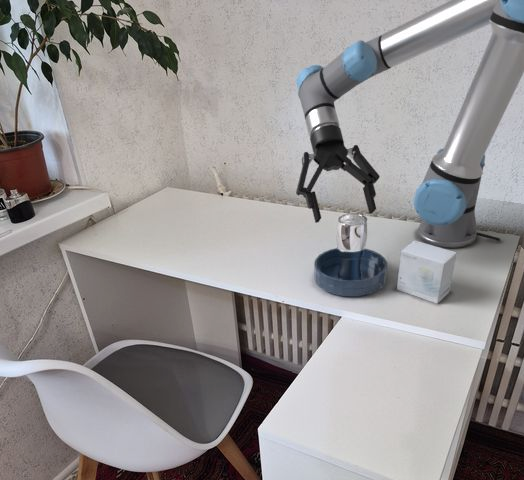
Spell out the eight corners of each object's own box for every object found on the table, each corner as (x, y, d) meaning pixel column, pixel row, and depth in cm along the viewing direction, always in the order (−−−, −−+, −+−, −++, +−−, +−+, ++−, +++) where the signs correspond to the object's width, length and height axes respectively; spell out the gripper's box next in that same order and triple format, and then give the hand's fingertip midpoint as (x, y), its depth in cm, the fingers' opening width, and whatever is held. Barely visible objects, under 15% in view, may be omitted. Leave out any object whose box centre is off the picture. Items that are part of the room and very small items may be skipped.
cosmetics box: (395, 290, 119) (400, 249, 113) (409, 279, 123) (414, 239, 117) (437, 304, 114) (444, 262, 107) (450, 292, 117) (458, 251, 111)
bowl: (385, 264, 130) (387, 248, 127) (385, 300, 116) (387, 283, 114) (318, 261, 133) (318, 245, 130) (310, 296, 119) (310, 279, 117)
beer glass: (363, 285, 121) (367, 226, 112) (333, 283, 122) (335, 225, 113) (364, 270, 126) (368, 213, 117) (336, 269, 128) (338, 212, 118)
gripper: (367, 134, 127) (389, 214, 125) (272, 147, 123) (291, 230, 121) (378, 116, 120) (401, 200, 117) (277, 130, 116) (298, 217, 113)
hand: (345, 215), depth 119 cm, fingers open, 13 cm apart
